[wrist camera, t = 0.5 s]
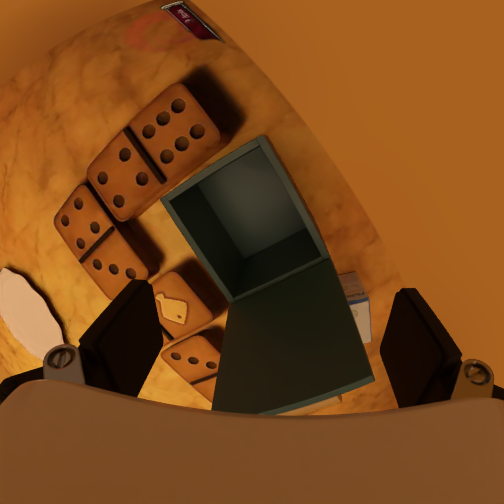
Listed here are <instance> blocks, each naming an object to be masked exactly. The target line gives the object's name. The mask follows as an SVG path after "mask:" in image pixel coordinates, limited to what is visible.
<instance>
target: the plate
mask: <svg viewBox="0 0 504 504" xmlns="http://www.w3.org/2000/svg"><path fill="white" fill-rule="evenodd" d="M0 315H1V317H2V318H3V320H4V321H5V323H6V324H7V326H8V328H9V330H10V331H11V333H12V335H13V336H14V337H15V338H16V339H17V340H18V341H19V342H20V343H21V344H22V345H23V346H24V347H25V348H26V350H27V351H28V352H29V353H31V354H32V355H34V356H36V357H38V358H40V359H41V360H44V357H45V355H46V353H47V352H48V351H49V350H50V349H52V348H53V347H55V346H58V345H61V344H65V343H64V341H63V336H62V330H61V327H60V325H59V324H58V322H57V321H56V319H55V318H54V316H53V314H52V312H51V310H50V308H49V307H48V305H47V303H46V302H45V300H44V299H43V297H42V296H41V295H40V294H39V293H38V292H37V291H36V290H35V289H34V288H33V287H32V286H31V285H30V284H29V282H28V281H27V280H26V279H25V278H24V277H23V276H22V275H19V274H16V273H13V272H12V271H10V270H9V269H7V268H3V269H2V271H1V272H0Z"/></svg>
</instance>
